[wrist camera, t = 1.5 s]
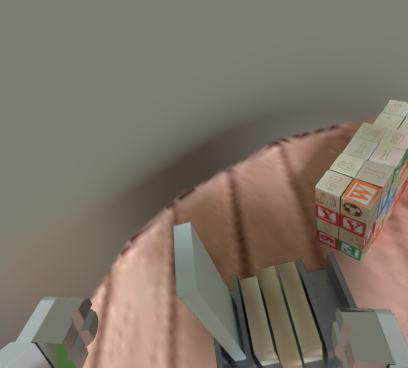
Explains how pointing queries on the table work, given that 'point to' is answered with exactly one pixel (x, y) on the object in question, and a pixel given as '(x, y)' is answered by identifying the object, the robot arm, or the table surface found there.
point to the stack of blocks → (364, 183)
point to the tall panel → (206, 291)
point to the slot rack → (320, 308)
